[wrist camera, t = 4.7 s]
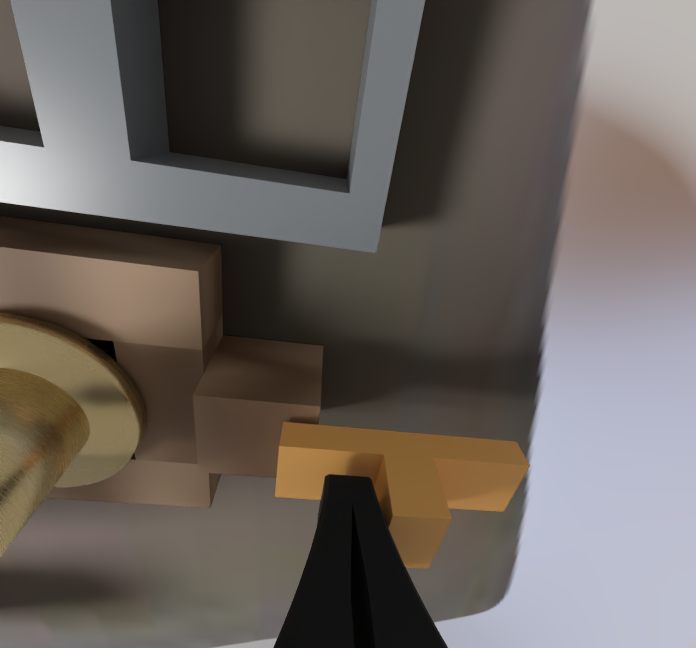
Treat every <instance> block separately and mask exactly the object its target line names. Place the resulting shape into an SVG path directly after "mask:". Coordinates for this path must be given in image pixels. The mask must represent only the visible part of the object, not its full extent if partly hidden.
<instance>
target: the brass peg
mask: <svg viewBox="0 0 696 648" xmlns="http://www.w3.org/2000/svg"><path fill="white" fill-rule="evenodd" d="M145 428H146V411H145V407H144V403H143V400H142V398H141V395H140V393H139V391H138V389H137V388H136V386H135V384H134V383H133V381H132V380H131V378H130V377H129V376H128V375H127V373H126V372H125V371H124V370H123V369H122V368H121V367H120V366H119V365H118V364H117V359H116V354H115V348H114V343H113V341H107V340H97V339H87V338H82V337H81V336H79V335H77V334H75V333H73V332H71V331H69V330H67V329H65V328H62V327H60V326H58V325H55V324H52V323H49V322H46V321H43V320H40V319H36V318H32V317H28V316H24V315H18V314H11V313H0V557H1V556H2V555H3V553H4V552H5V551H6V549H7V548H8V547H9V545H10V544H11V543H12V542H13V540H14V539H15V538H16V536H17V535H18V534H19V532H20V531H21V530H22V528H23V527H24V526H25V524H26V523H27V522H28V520H29V519H30V518H31V516H32V515H33V514H34V512H35V511H36V510H37V508H38V507H39V506H40V504H41V503H42V502H43V500H44V499H45V498H46V496H47V495H48V494H49V492H50V491H51V490H52V488H53V487H62V488H63V487H77V486H83V485H89V484H92V483H96V482H99V481H102V480H104V479H107V478H109V477H110V476H112V475H114V474H116V473H117V472H118V471H120V470H121V469H122V468H123V467H124V466H125V465H126V464H127V463H128V462H129V460H130V459H131V457H132V455H133V453H134V452H135V450H136V448H137V447H138V445H139V443H140V442H141V440H142V438H143V435H144V432H145Z"/></svg>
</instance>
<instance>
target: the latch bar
mask: <svg viewBox="0 0 696 648" xmlns="http://www.w3.org/2000/svg"><path fill="white" fill-rule="evenodd" d="M529 466H530V465H529V463H528V461H527V459H526V458H525V456H524V454H523V452H522V450H521V449H520V447H519V445H518V443H517V442H516V441H504V440H492V439H480V438H469V437H457V436H445V435H433V434H421V433H410V432H398V431H386V430H374V429H362V428H351V427H339V426H327V425H315V424H303V423H292V422H283V425H282V431H281V437H280V444H279V453H278V465H277V477H276V489H275V497H283V498H298V499H314V500H321V496H322V490H323V485H324V479H325V476H327V475H329V474H335V475H349V476H363V477H370V478H371V479H372V482H373V486H374V489H375V492H376V495H377V498H378V501H379V504H380V507H381V510H382V513H383V515H384V518H385V520H386V523H387V526H388V528H389V531H390V533H391V536H392V538H393V540H394V543H395V545H396V547H397V549H398V552H399V554H400V556H401V559H402V561H403V563H404V565H405V567H413V568H429V567H430V565H431V562H432V560H433V558H434V556H435V554H436V552H437V550H438V548H439V545H440V543H441V541H442V539H443V537H444V535H445V533H446V531H447V528H448V526H449V524H450V522H451V520H452V518H451V515H450V511H449V508H455V509H471V510H487V511H503V512H504V510H505V508H506V507H507V505H508V503H509V501H510V500H511V498H512V496H513V494H514V493H515V491H516V489H517V487H518V486H519V484H520V482H521V480H522V479H523V477H524V475H525V473H526V472H527V470H528V468H529Z"/></svg>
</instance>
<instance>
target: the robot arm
mask: <svg viewBox="0 0 696 648" xmlns="http://www.w3.org/2000/svg"><path fill="white" fill-rule="evenodd" d="M274 648H448V647H447V645H446V644H445V642H444V640H443V638H442V637H441V635H440V633H439V631H438V630H437V628H436V626H435V624H434V622H433V621H432V619H431V617H430V615H429V613H428V611H427V610H426V608H425V606H424V604H423V602H422V600H421V598H420V596H419V594H418V592H417V590H416V588H415V586H414V584H413V582H412V580H411V578H410V576H409V574H408V572H407V570H406V567H405V565H404V563H403V561H402V559H401V556H400V554H399V552H398V549H397V547H396V545H395V543H394V540H393V538H392V536H391V533H390V531H389V528H388V526H387V523H386V520H385V518H384V515H383V513H382V510H381V507H380V504H379V501H378V498H377V495H376V492H375V489H374V486H373V482H372V479H371V478H370V477H363V476H349V475H335V474H329V475H327V476H325V479H324V485H323V490H322V496H321V501H320V507H319V513H318V523H317V529H316V532H315V536H314V539H313V543H312V547H311V550H310V553H309V556H308V559H307V562H306V565H305V568H304V571H303V574H302V577H301V580H300V582H299V585H298V588H297V591H296V593H295V596H294V599H293V601H292V604H291V607H290V609H289V612H288V614H287V617H286V619H285V622H284V624H283V627H282V629H281V631H280V634H279V636H278V638H277V641H276V643H275V645H274Z"/></svg>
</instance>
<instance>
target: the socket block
mask: <svg viewBox="0 0 696 648" xmlns="http://www.w3.org/2000/svg"><path fill="white" fill-rule="evenodd" d="M0 313H11V314H18V315H24V316H28V317H32V318H36V319H40V320H43V321H46V322H49V323H52V324H55V325H58V326H60V327H62V328H65V329H67V330H69V331H71V332H73V333H75V334H77V335H79V336H81V337H82V338H87V339H97V340H107V341H113V343H114V348H115V354H116V359H117V364H118V365H119V366H120V367H121V368H122V369H123V370H124V371H125V372H126V373H127V375H128V376H129V377H130V378H131V380H132V381H133V383H134V384H135V386H136V388H137V389H138V391H139V393H140V395H141V398H142V400H143V403H144V407H145V411H146V428H145V432H144V435H143V438H142V440H141V442H140V443H139V445H138V447H137V448H136V450H135V452H134V453H133V455H132V457H131V459H130V460H129V462H128V463H127V464H126V465H125V466H124V467H123V468H122V469H121V470H120V471H118V472H117V473H116V474H114V475H112V476H110V477H109V478H107V479H104V480H102V481H99V482H96V483H92V484H89V485H83V486H77V487H63V488H62V487H53V488H52V490H51V491H50V492H49V494H48V495H47V496H46V498H53V499H70V500H87V501H104V502H120V503H137V504H154V505H171V506H187V507H204V508H211V505H212V501H213V498H214V495H215V492H216V489H217V485H218V482H219V479H220V476H221V474H230V475H244V476H259V477H273V478H276V477H277V465H278V453H279V444H280V437H281V431H282V425H283V422H292V423H303V424H315V425H318V421H319V414H320V408H321V388H322V365H323V346H321V345H311V344H302V343H292V342H283V341H274V340H264V339H255V338H246V337H236V336H227V335H223V314H222V260H221V245H219V244H211V243H204V242H196V241H188V240H181V239H173V238H166V237H158V236H150V235H143V234H135V233H128V232H120V231H112V230H105V229H97V228H90V227H82V226H74V225H67V224H59V223H52V222H44V221H36V220H29V219H21V218H14V217H6V216H0Z"/></svg>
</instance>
